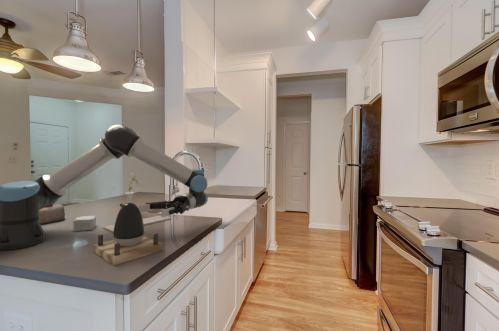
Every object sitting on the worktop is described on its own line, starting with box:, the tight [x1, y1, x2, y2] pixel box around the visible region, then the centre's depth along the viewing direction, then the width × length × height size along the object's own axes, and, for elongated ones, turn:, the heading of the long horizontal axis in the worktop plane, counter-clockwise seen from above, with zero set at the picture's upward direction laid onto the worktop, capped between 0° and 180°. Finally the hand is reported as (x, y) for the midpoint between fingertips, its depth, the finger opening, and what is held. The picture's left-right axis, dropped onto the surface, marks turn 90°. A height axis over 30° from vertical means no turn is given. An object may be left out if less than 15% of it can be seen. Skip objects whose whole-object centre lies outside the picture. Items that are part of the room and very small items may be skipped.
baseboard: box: [101, 212, 172, 234], centre depth 127 cm, size 31×3×12 cm
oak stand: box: [92, 233, 163, 266], centre depth 90 cm, size 17×17×6 cm
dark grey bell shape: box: [112, 202, 145, 247], centre depth 90 cm, size 10×10×15 cm
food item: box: [39, 203, 66, 226], centre depth 125 cm, size 14×8×10 cm, turn 154°
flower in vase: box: [124, 172, 140, 203], centre depth 140 cm, size 13×11×25 cm
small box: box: [72, 215, 97, 232], centre depth 116 cm, size 8×8×5 cm
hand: (149, 211), depth 98 cm, fingers open, 13 cm apart
